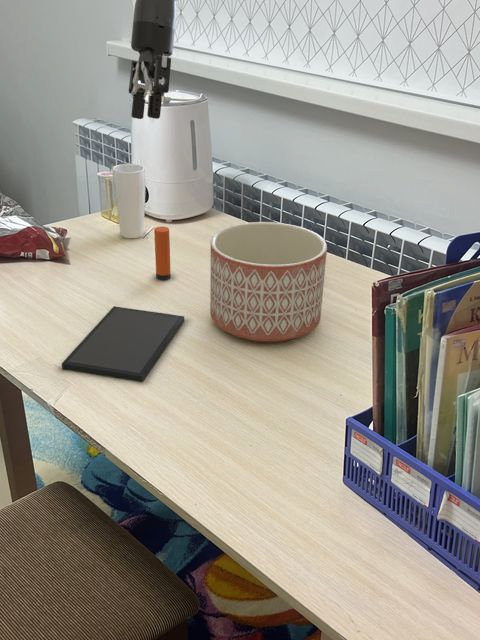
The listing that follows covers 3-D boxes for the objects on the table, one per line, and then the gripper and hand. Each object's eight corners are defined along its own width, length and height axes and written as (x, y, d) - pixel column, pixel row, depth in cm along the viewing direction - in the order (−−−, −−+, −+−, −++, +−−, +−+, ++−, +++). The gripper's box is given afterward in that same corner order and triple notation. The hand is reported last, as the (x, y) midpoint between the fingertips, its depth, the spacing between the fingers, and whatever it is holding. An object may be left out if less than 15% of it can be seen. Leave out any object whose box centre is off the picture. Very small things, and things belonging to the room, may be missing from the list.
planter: (194, 306, 125) (193, 229, 118) (289, 290, 132) (293, 216, 125) (236, 358, 110) (238, 273, 103) (339, 337, 118) (349, 256, 110)
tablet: (62, 369, 106) (61, 363, 105) (114, 311, 122) (113, 305, 122) (142, 382, 103) (142, 376, 103) (184, 321, 120) (184, 316, 120)
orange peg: (154, 279, 134) (152, 230, 129) (159, 273, 137) (157, 225, 132) (167, 281, 134) (166, 232, 129) (172, 275, 136) (171, 227, 131)
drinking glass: (126, 227, 157) (122, 161, 150) (153, 232, 156) (150, 166, 148) (111, 237, 152) (106, 169, 144) (138, 242, 150) (135, 174, 142)
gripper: (121, 24, 129) (113, 115, 132) (148, 14, 117) (139, 114, 121) (159, 34, 133) (150, 122, 136) (189, 25, 121) (178, 121, 124)
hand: (145, 118), depth 128 cm, fingers open, 8 cm apart
